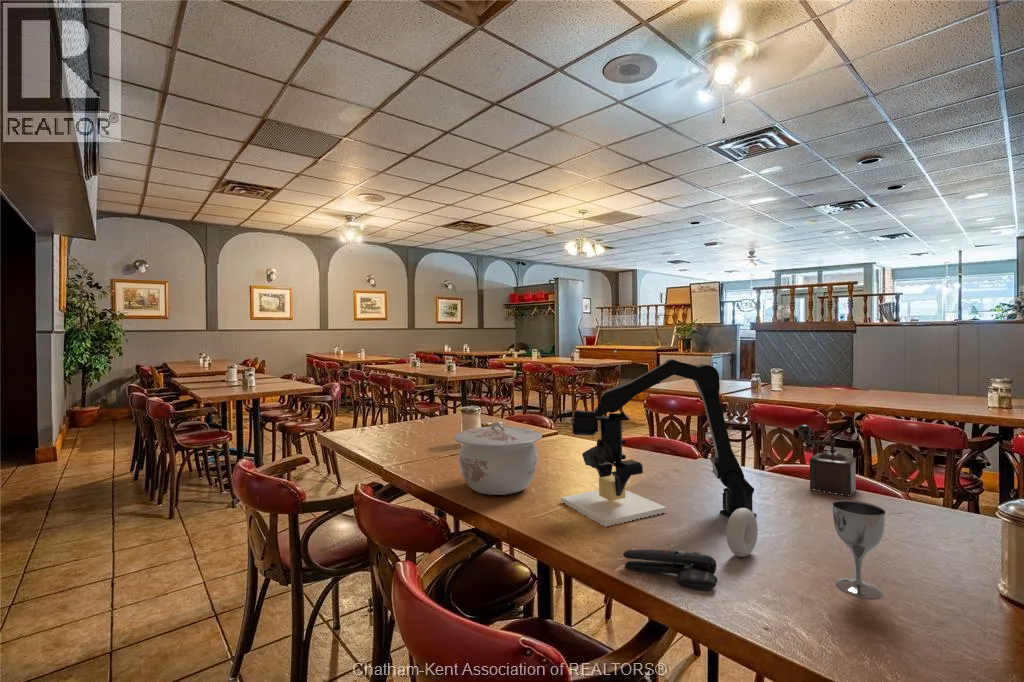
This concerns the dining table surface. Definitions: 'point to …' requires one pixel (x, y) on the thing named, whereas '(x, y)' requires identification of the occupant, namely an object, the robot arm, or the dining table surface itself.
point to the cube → (609, 488)
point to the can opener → (676, 566)
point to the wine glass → (859, 540)
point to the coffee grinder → (830, 468)
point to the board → (613, 507)
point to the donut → (742, 532)
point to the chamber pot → (498, 458)
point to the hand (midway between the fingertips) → (612, 492)
